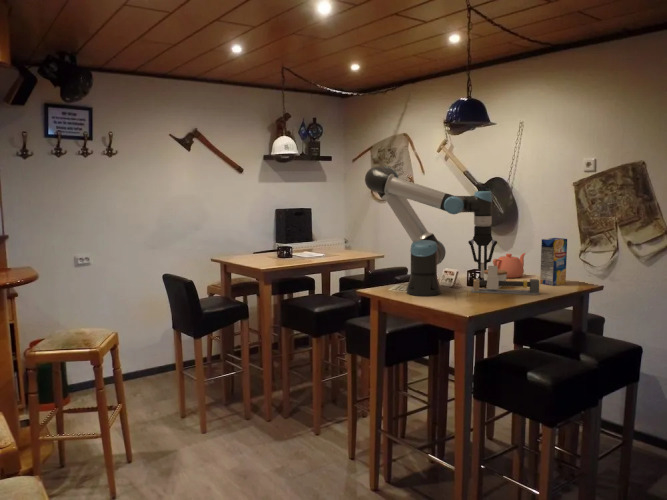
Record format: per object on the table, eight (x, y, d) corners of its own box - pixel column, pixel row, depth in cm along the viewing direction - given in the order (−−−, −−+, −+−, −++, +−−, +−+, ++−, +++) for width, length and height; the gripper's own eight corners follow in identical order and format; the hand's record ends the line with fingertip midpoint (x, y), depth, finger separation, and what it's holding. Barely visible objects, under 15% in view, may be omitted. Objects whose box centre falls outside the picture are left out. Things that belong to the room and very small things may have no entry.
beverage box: (540, 283, 260) (541, 239, 257) (552, 281, 266) (554, 237, 263) (552, 285, 254) (554, 240, 251) (565, 283, 260) (567, 238, 258)
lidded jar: (507, 289, 247) (508, 269, 246) (484, 288, 249) (484, 268, 248) (505, 285, 257) (505, 266, 256) (482, 284, 260) (482, 265, 258)
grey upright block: (486, 288, 239) (487, 266, 238) (486, 286, 244) (486, 265, 243) (498, 289, 238) (498, 266, 237) (497, 287, 243) (498, 265, 241)
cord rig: (471, 292, 240) (471, 279, 239) (471, 289, 247) (471, 276, 246) (539, 294, 233) (539, 281, 232) (537, 291, 240) (537, 278, 239)
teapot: (515, 272, 293) (515, 250, 292) (535, 277, 280) (536, 253, 278) (483, 276, 284) (484, 253, 283) (503, 280, 271) (504, 256, 269)
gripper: (467, 226, 237) (467, 278, 239) (498, 226, 234) (497, 278, 236) (468, 225, 244) (467, 275, 247) (497, 224, 241) (496, 276, 243)
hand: (482, 277), depth 241 cm, fingers closed
